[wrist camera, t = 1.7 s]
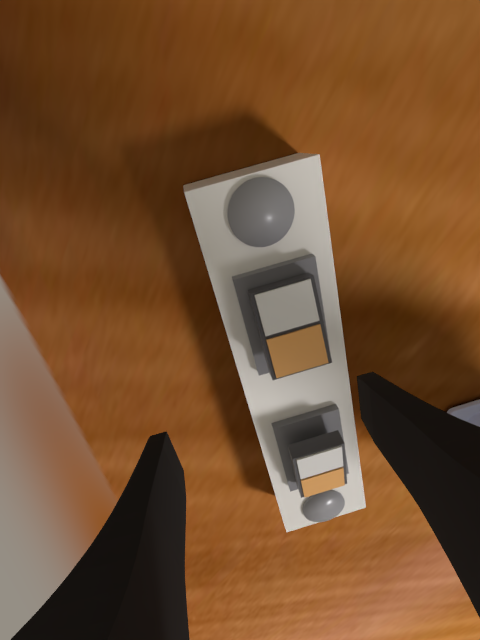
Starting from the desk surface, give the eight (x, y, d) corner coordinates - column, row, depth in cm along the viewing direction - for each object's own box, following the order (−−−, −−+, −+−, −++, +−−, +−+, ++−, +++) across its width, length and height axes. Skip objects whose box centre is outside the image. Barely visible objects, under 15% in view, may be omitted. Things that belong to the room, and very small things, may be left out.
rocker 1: (326, 355, 19) (333, 363, 18) (269, 372, 18) (273, 381, 18) (308, 272, 17) (314, 275, 16) (246, 290, 17) (249, 294, 16)
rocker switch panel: (348, 474, 29) (369, 513, 26) (276, 496, 29) (288, 539, 26) (298, 152, 18) (323, 154, 15) (183, 185, 18) (184, 193, 15)
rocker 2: (341, 470, 24) (347, 485, 23) (296, 484, 23) (301, 499, 23) (338, 429, 21) (345, 444, 20) (287, 445, 21) (293, 460, 20)
